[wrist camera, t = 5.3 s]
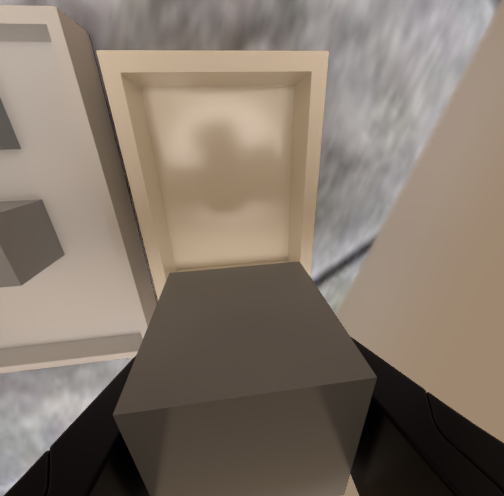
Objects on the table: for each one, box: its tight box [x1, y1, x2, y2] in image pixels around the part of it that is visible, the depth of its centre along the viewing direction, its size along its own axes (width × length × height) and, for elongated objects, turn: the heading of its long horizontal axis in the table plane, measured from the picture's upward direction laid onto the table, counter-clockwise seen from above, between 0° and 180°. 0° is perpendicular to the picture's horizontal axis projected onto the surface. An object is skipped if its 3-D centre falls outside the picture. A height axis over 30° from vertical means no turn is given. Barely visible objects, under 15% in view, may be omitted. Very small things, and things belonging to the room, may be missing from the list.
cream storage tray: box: [96, 50, 329, 300], centre depth 15 cm, size 11×14×4 cm
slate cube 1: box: [113, 261, 377, 496], centre depth 6 cm, size 4×4×4 cm
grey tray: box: [0, 5, 157, 373], centre depth 15 cm, size 14×21×3 cm
